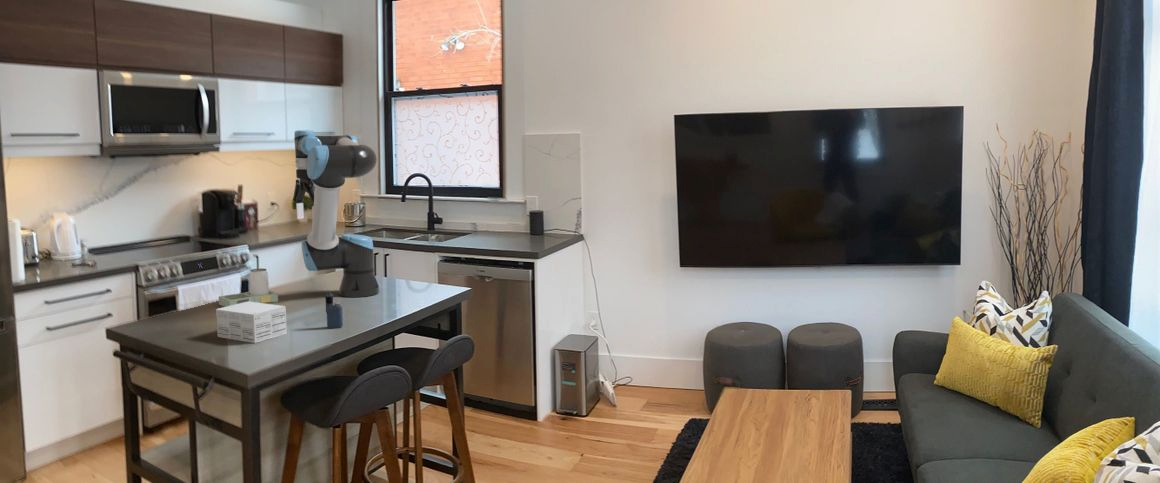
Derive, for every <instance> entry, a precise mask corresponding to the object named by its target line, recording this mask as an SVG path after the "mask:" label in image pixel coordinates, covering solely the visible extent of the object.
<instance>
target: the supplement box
mask: <svg viewBox="0 0 1160 483" xmlns="http://www.w3.org/2000/svg"><path fill="white" fill-rule="evenodd" d="M215 313H216V330H217V337H218V338H223V339H229V340H234V341H241V342H246V343H252V344H256V343H259V342H264V341H267V340H270V339H274V338H278V337H281V336H284V335H287V334H288V331H287V330H288V325H287V310H286V305H279V304H272V303H257V302H250V301H248V302H244V303H239V304H235V305H231V306H227V307H224V306H222V307H220V308H219V307H218V308H216V309H215Z"/></svg>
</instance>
